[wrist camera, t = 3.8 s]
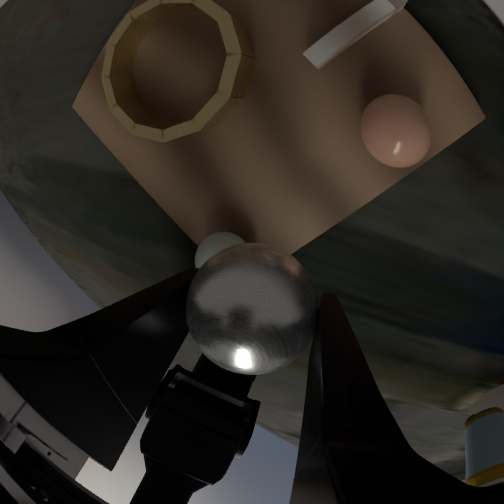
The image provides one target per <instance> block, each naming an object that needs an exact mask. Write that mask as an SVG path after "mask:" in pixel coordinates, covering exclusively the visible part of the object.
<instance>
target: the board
mask: <svg viewBox="0 0 504 504" xmlns="http://www.w3.org/2000/svg"><path fill="white" fill-rule="evenodd" d="M146 1H148V0H136V1H135V3H134V4H133V5H132V6H131V8H130V9H129V10H128V12H127V13H126V15H127V14H128V13H129V12H130V11H132V10H133V9H135V8H136V7H138V6H140V5H141V4H143V3H145V2H146ZM213 1H215V2H217V3H218V4H220V5H221V6H223V7H224V8H225V9H227V10H228V11H229V12H231V13H232V14H234V15H235V16H236V17H238V18H239V19H240V20H241V21H243V22H244V23H245V25H246V29H247V32H248V35H249V38H250V42H251V45H252V48H253V52H254V55H255V62H254V66H253V69H252V73H251V76H250V80H249V83H248V87H247V91H246V94H245V97H244V99H243V100H242V101H241V102H240V103H239V104H238V105H237V106H236V107H235V108H234V109H233V110H232V111H231V112H230V113H229V114H228V115H227V116H226V117H225V118H224V119H223V120H222V121H221V122H220V123H219V124H218V125H217V126H215V127H211V128H208V129H205V130H201V131H198V132H195V133H191V134H188V135H185V136H182V137H179V138H176V139H173V140H170V141H167V142H163V143H162V142H159V141H155V140H151V139H147V138H144V137H140V136H136V135H132V134H131V133H130V132H129V131H128V130H127V129H126V128H125V127H124V126H123V125H122V124H121V123H120V122H119V121H118V119H117V118H116V117H115V116H114V115H113V114H112V113H111V112H110V110H109V107H108V103H107V100H106V96H105V92H104V88H103V84H102V80H101V79H102V78H101V76H102V70H103V64H104V59H105V53H106V48H107V44H109V43H108V42H109V40H110V39H111V37H112V36H113V34H114V33H115V31H116V30H117V28H118V27H119V25H120V24H121V22H122V21H123V20H124V18H125V17H126V15H125V16H124V17H123V19H122V20H121V22H120V23H119V24H118V26H117V27H116V29H115V30H114V32H113V33H112V35H111V36H110V38H109V39H108V41H107V43H106V44H105V46H104V47H103V49H102V51H101V52H100V54H99V56H98V57H97V59H96V61H95V63H94V64H93V66H92V68H91V70H90V72H89V74H88V75H87V77H86V79H85V81H84V83H83V85H82V87H81V89H80V91H79V93H78V95H77V97H76V99H75V102H74V104H73V106H72V107H73V108H74V110H75V111H76V112H77V113H78V114H79V115H80V117H81V118H82V119H83V120H84V121H85V122H86V124H87V125H88V126H89V127H90V128H91V129H92V131H93V132H94V133H95V134H96V135H97V136H98V138H99V139H100V140H101V141H102V142H103V143H104V144H105V146H106V147H107V148H108V149H109V150H110V151H111V152H112V154H113V155H114V156H115V157H116V158H117V159H118V160H119V161H120V163H121V164H122V165H123V166H124V167H125V168H126V169H127V170H128V172H129V173H130V174H131V175H132V176H133V177H134V178H135V179H136V180H137V181H138V183H139V184H140V185H141V186H142V187H143V188H144V189H145V190H146V191H147V192H148V194H149V195H150V196H151V197H152V198H153V199H154V200H155V201H156V202H157V203H158V204H159V205H160V207H161V208H162V209H163V210H164V211H165V212H166V213H167V214H168V215H169V216H170V217H171V218H172V219H173V220H174V221H175V223H176V224H177V225H178V226H179V227H180V228H181V229H182V230H183V231H184V232H185V233H186V234H187V235H188V236H189V237H190V238H191V239H192V240H193V241H194V243H195V244H196V245H197V246H199V245H200V243H201V242H202V241H203V240H204V239H205V238H206V237H208V236H209V235H211V234H214V233H217V232H230V233H233V234H236V235H238V236H239V237H241V238H242V239H243V240H244V241H245V242H246V243H263V244H267V245H271V246H274V247H277V248H279V249H281V250H284V251H285V252H287V253H289V254H292V253H293V252H295V251H296V250H298V249H299V248H301V247H302V246H304V245H305V244H307V243H308V242H310V241H311V240H313V239H314V238H316V237H317V236H319V235H320V234H322V233H323V232H325V231H326V230H328V229H329V228H331V227H332V226H334V225H335V224H337V223H338V222H340V221H341V220H343V219H344V218H346V217H347V216H349V215H350V214H352V213H353V212H355V211H356V210H358V209H359V208H360V207H362V206H363V205H365V204H366V203H368V202H369V201H371V200H372V199H374V198H375V197H376V196H378V195H379V194H381V193H382V192H384V191H385V190H387V189H388V188H389V187H391V186H392V185H394V184H395V183H397V182H398V181H399V180H401V179H402V178H404V177H405V176H407V175H408V174H409V173H411V172H412V171H414V170H415V169H417V168H418V167H419V166H421V165H422V164H424V163H425V162H426V161H428V160H429V159H431V158H432V157H433V156H435V155H436V154H438V153H439V152H440V151H442V150H443V149H444V148H446V147H447V146H449V145H450V144H451V143H453V142H454V141H455V140H457V139H458V138H460V137H461V136H462V135H464V134H465V133H466V132H468V131H469V130H470V129H472V128H473V127H474V126H476V125H477V124H479V123H480V122H481V121H483V120H484V119H485V118H486V117H485V115H484V114H483V112H482V110H481V108H480V107H479V105H478V103H477V101H476V100H475V98H474V96H473V95H472V93H471V92H470V90H469V88H468V87H467V85H466V84H465V82H464V81H463V79H462V78H461V76H460V75H459V73H458V72H457V70H456V69H455V68H454V66H453V65H452V63H451V62H450V61H449V59H448V58H447V57H446V55H445V54H444V53H443V51H442V50H441V49H440V48H439V46H438V45H437V44H436V43H435V41H434V40H433V39H432V38H431V37H430V36H429V34H428V33H427V32H426V31H425V30H424V29H423V27H422V26H421V25H420V24H419V23H418V22H417V21H416V20H415V19H414V18H413V17H412V16H411V14H410V13H409V12H408V11H407V10H406V9H405V8H404V6H405V4H406V3H407V0H213ZM226 57H227V52H226V49H225V45H224V42H223V38H222V35H221V32H220V28H219V25H218V22H217V21H216V20H215V19H214V18H212V17H211V16H210V15H208V14H207V13H205V12H203V11H180V12H178V13H176V14H173V15H171V16H169V17H167V18H166V19H164V20H162V21H160V22H158V23H156V24H155V25H154V26H153V27H152V29H151V30H150V31H149V32H148V34H147V35H146V36H145V38H144V39H143V40H142V42H141V43H140V45H139V46H138V47H137V52H136V56H135V61H134V66H133V71H132V77H133V81H134V85H135V89H136V92H137V96H138V100H139V101H140V102H141V103H142V104H143V105H144V106H145V107H146V108H147V109H148V110H149V111H150V112H151V113H152V114H153V115H154V116H155V117H156V118H157V119H161V120H165V121H169V122H173V123H178V124H181V123H183V122H186V121H189V120H192V119H193V118H194V117H195V116H196V115H197V114H198V113H199V111H200V110H201V109H202V108H203V107H204V106H205V105H206V104H207V102H208V101H209V100H210V99H211V98H212V97H213V96H214V95H215V94H216V93H217V91H218V87H219V84H220V80H221V76H222V72H223V68H224V65H225V61H226ZM385 94H399V95H403V96H406V97H408V98H410V99H412V100H414V101H415V102H416V103H418V104H419V105H420V106H421V107H422V108H423V110H424V111H425V112H426V114H427V116H428V118H429V120H430V122H431V126H432V134H433V136H432V143H431V147H430V149H429V151H428V153H427V154H426V156H425V157H424V158H423V159H422V160H421V161H420V162H418V163H417V164H415V165H412V166H409V167H404V168H397V167H391V166H388V165H385V164H383V163H381V162H380V161H378V160H377V159H376V158H374V157H373V156H372V155H371V153H370V152H369V151H368V150H367V148H366V147H365V145H364V143H363V140H362V137H361V132H360V122H361V117H362V114H363V112H364V110H365V108H366V107H367V105H368V104H369V103H370V102H371V101H373V100H374V99H375V98H377V97H379V96H382V95H385Z"/></svg>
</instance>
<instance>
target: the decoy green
mask: <svg viewBox="0 0 504 504" xmlns="http://www.w3.org/2000/svg"><path fill="white" fill-rule="evenodd" d="M243 243H246V242H245V241H244V240H243V239H242V238H241V237H239V236H238V235H236V234H233V233H230V232H217V233H214V234H211V235H209V236H208V237H206V238H205V239H204V240H203V241H202V242H201V243H200V245H199V246H198V249H197V251H196V255H195V266H196V268H200V267H201V266H202V265H203V264H204V263H205V262H206V261H207V260H208V259H209V258H210V257H212V256H213V255H215V254H216V253H218V252H219V251H221V250H223V249H225V248H228V247H230V246H234V245H237V244H243Z"/></svg>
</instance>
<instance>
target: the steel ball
mask: <svg viewBox="0 0 504 504" xmlns="http://www.w3.org/2000/svg"><path fill="white" fill-rule="evenodd" d="M318 315H319V302H318V295H317V291H316V288H315V285H314V283H313V280H312V278H311V277H310V275H309V273H308V272H307V271H306V269H305V268H304V267H303V265H302V264H301V263H300V262H299V261H298V260H297V259H295V258H294V257H293V256H292V255H290V254H289V253H287V252H285V251H284V250H281V249H279V248H277V247H274V246H271V245H267V244H263V243H243V244H237V245H234V246H230V247H228V248H225V249H223V250H221V251H219V252H218V253H216V254H215V255H213V256H212V257H210V258H209V259H208V260H207V261H206V262H205V263H204V264H203V265H202V266H201V267H200V269H199V270H198V271H197V273H196V274H195V276H194V278H193V280H192V282H191V284H190V287H189V290H188V294H187V299H186V319H187V324H188V328H189V331H190V333H191V336H192V338H193V340H194V342H195V343H196V345H197V346H198V348H199V349H200V350H201V352H202V353H203V354H204V355H205V356H206V357H207V358H209V359H210V360H211V361H212V362H214V363H215V364H217V365H218V366H220V367H222V368H224V369H226V370H229V371H232V372H235V373H240V374H246V375H258V374H265V373H270V372H273V371H276V370H278V369H281V368H283V367H284V366H286V365H288V364H289V363H291V362H292V361H294V360H295V359H296V358H297V357H298V356H299V355H300V354H301V353H302V352H303V351H304V350H305V348H306V347H307V346H308V344H309V342H310V341H311V339H312V337H313V335H314V332H315V329H316V325H317V320H318Z"/></svg>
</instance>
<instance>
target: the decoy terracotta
mask: <svg viewBox="0 0 504 504" xmlns="http://www.w3.org/2000/svg"><path fill="white" fill-rule="evenodd" d="M360 132H361V137H362V140H363V143H364V145H365V147H366V148H367V150H368V151H369V152H370V153H371V155H372V156H373V157H374V158H376V159H377V160H378V161H380V162H381V163H383V164H385V165H388V166H391V167H397V168H404V167H409V166H412V165H415V164H417V163H418V162H420V161H421V160H422V159H423V158H424V157H425V156H426V154H427V153H428V151H429V149H430V147H431V143H432V136H433V134H432V126H431V122H430V120H429V118H428V116H427V114H426V112H425V111H424V110H423V108H422V107H421V106H420V105H419V104H418V103H416V102H415V101H414V100H412V99H410V98H408V97H406V96H403V95H399V94H385V95H382V96H379V97H377V98H375V99H374V100H373V101H371V102H370V103H369V104H368V105H367V107H366V108H365V110H364V112H363V114H362V117H361V122H360Z"/></svg>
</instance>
